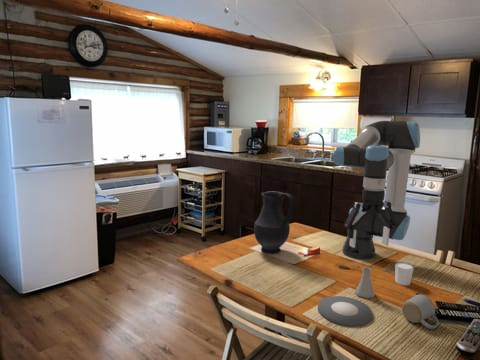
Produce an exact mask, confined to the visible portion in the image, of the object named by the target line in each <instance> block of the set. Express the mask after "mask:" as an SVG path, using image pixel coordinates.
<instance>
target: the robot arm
mask: <svg viewBox="0 0 480 360" xmlns="http://www.w3.org/2000/svg"><path fill="white" fill-rule="evenodd" d="M420 146H421V129H420V125H419V123H418V122H417V121H410V120H409V121H408V120H380V121H375V122H372V123H369V124H367V125H366V126H365V127H363V128H362V129H361V130H360V131H359V134H358V136H356V137H355V138H354V139H353V140H352V141H351V142H349V143H348V144H347V145H346V146H336V147H335V148H334V150H333V154H332V160H333V161H332V162H333V163H334V165H336V166H341V167H351V168H363V169H364V170H363V171H364V172H363V180H362V181H363V183H362V187H363V189H362V192H361V193H362V194H361V199H362V201H361V202H357V201H354V202H353V207H351V208H350V209H349V212H348V217H347V218H346V220H345V222H344V224H343V227H344V228H346V229H347V236H346V239H345V241H344V243H343V246H342V253H343V254H344V256H347V257H350V258H353V259H358V260H369V259H373V258H374V257H376V248H375V245H374V241H373V236H374V237H379V238H382V239H381V240H382V241H381V243H382V245H384V246H389V242H390V241H389V240H390V239H391V240H395V241H396V240H397V241H402V240H404V239H405V237H406V235H407V232H408V230H409V226H410V220H411V216H410V215H408V210H407V209H406V208H405V203H406V195H407V188H408V180H409V172H410V164H411V157H412V155H413V154H414V153H415V152H416V149H419V148H420ZM387 171H388V172H387Z"/></svg>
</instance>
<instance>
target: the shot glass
mask: <svg viewBox="0 0 480 360" xmlns="http://www.w3.org/2000/svg"><path fill="white" fill-rule="evenodd" d="M394 267H395V269H394V270H395V273H394V275H395V276H394V277H395V278H394V279H395V280H394V281H395V283H397V284H398V285H401V286H410V285H411V282H412V278H413V273H414V266H413V265H411V264H408V263H405V262H404V263H403V262H397V263H395V265H394Z"/></svg>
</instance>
